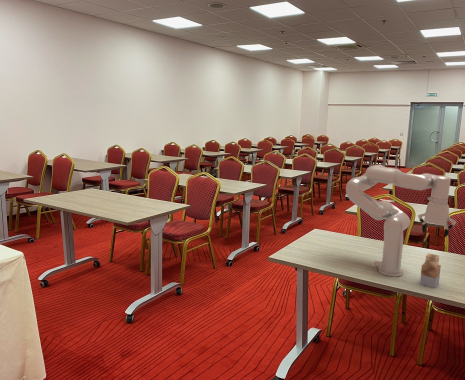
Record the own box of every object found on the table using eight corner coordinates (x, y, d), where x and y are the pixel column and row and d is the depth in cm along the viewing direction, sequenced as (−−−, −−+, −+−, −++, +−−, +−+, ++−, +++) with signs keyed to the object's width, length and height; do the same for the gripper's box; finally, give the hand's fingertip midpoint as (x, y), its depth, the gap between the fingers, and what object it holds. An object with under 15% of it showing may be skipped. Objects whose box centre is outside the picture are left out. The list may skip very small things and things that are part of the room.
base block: (420, 283, 198) (421, 274, 197) (424, 279, 203) (425, 270, 202) (435, 288, 194) (436, 278, 193) (438, 283, 199) (439, 274, 198)
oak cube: (424, 265, 196) (425, 255, 195) (427, 262, 200) (428, 253, 199) (435, 267, 193) (436, 258, 192) (438, 265, 197) (439, 255, 196)
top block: (420, 274, 197) (421, 265, 196) (424, 270, 202) (425, 261, 201) (435, 278, 193) (437, 268, 192) (439, 274, 198) (440, 265, 197)
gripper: (417, 199, 195) (413, 232, 199) (456, 205, 184) (451, 240, 187) (423, 197, 201) (419, 229, 204) (460, 203, 189) (455, 237, 192)
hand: (434, 234), depth 195 cm, fingers open, 9 cm apart
